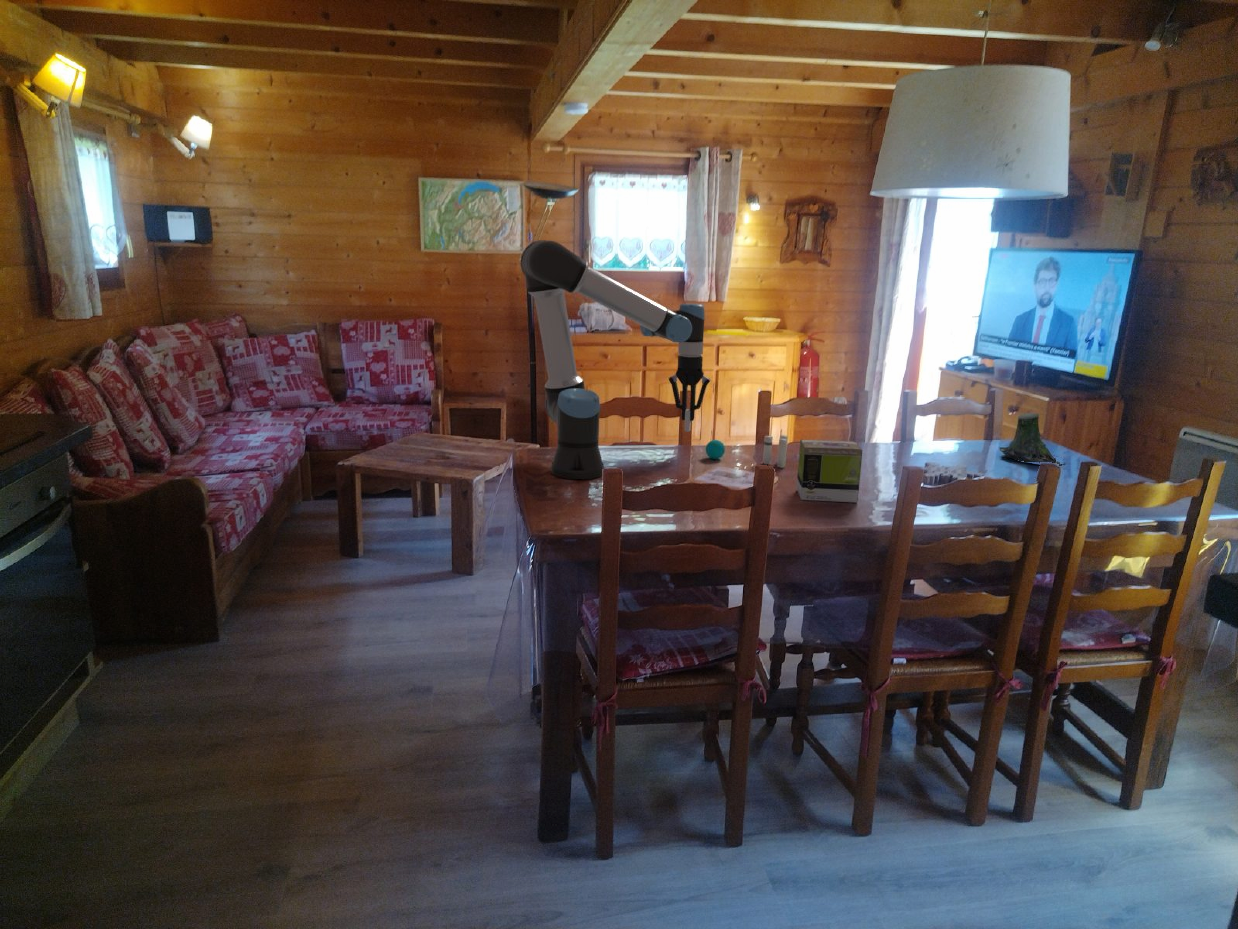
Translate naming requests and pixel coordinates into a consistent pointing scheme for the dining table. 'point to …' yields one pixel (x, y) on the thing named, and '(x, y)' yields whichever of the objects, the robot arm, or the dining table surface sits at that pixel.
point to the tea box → (829, 470)
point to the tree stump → (1028, 442)
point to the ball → (715, 449)
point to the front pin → (767, 449)
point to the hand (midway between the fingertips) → (687, 430)
